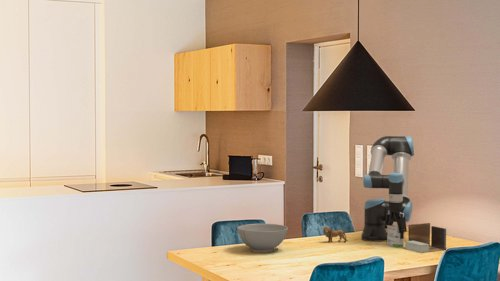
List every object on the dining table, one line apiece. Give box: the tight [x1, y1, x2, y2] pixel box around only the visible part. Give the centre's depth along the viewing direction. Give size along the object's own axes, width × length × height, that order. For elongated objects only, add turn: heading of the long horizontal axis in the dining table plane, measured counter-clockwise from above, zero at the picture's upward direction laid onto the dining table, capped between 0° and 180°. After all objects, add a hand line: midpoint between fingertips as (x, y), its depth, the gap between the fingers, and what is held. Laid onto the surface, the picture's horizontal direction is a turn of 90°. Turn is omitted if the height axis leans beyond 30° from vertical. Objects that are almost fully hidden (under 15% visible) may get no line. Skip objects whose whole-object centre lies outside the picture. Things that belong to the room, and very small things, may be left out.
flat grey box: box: [404, 240, 430, 254], centre depth 379 cm, size 12×6×4 cm, turn 28°
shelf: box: [402, 222, 445, 254], centre depth 383 cm, size 16×19×13 cm
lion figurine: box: [322, 226, 348, 244], centre depth 409 cm, size 15×5×9 cm, turn 104°
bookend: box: [430, 225, 448, 251], centre depth 386 cm, size 10×2×11 cm, turn 28°
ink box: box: [386, 224, 404, 249], centre depth 392 cm, size 9×5×12 cm, turn 26°
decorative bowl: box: [236, 223, 289, 253], centre depth 385 cm, size 27×27×12 cm
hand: (395, 243), depth 392 cm, fingers closed on ink box, 9 cm apart
